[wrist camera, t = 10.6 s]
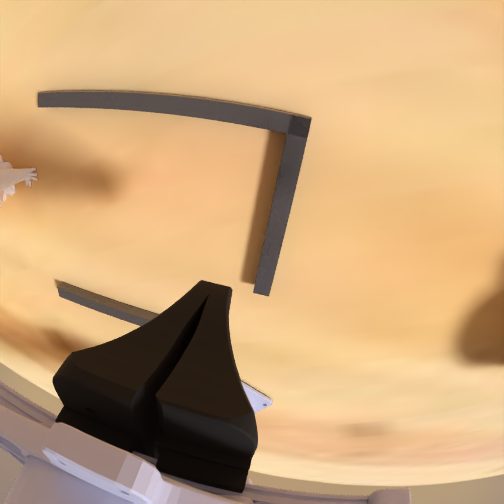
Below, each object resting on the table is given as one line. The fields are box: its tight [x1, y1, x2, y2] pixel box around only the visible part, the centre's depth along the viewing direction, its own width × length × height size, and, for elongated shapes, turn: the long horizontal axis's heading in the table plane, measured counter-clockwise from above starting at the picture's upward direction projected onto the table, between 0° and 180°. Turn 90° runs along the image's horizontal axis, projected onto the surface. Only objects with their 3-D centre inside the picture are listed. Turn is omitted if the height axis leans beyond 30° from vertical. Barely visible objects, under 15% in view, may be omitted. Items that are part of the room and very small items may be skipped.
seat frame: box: [38, 90, 311, 326], centre depth 24 cm, size 20×21×1 cm
